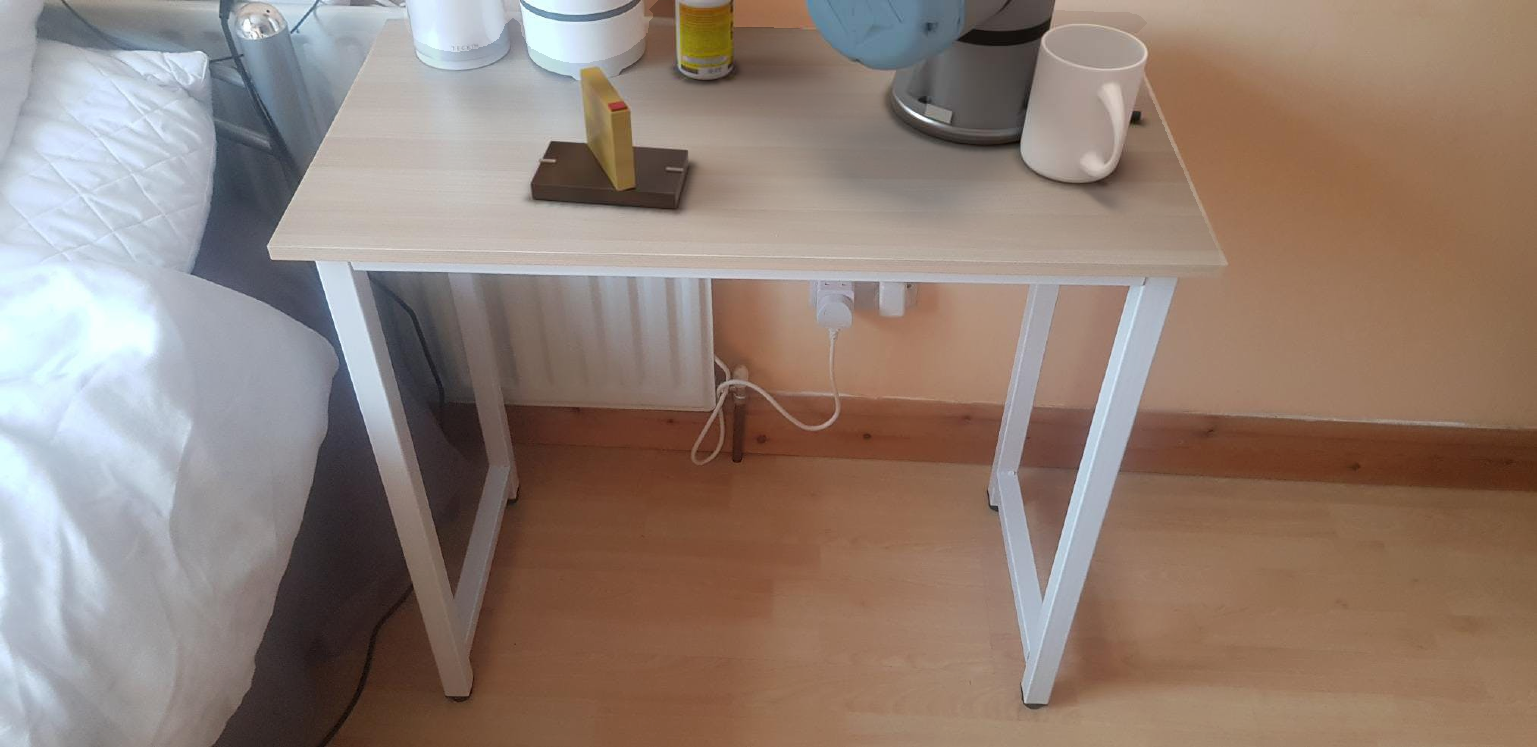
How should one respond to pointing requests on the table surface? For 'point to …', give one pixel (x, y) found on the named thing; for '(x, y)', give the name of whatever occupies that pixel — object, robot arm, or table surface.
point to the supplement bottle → (704, 37)
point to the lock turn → (608, 128)
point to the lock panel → (583, 179)
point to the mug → (1081, 101)
